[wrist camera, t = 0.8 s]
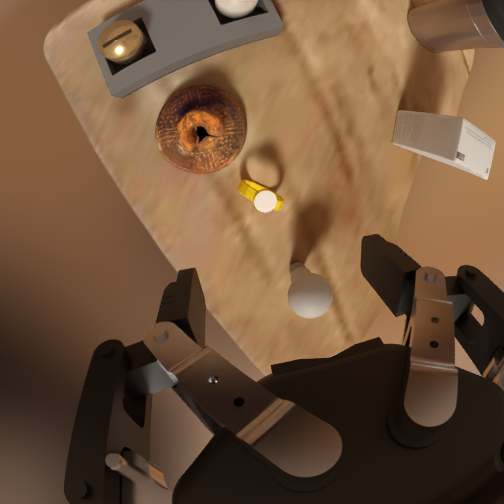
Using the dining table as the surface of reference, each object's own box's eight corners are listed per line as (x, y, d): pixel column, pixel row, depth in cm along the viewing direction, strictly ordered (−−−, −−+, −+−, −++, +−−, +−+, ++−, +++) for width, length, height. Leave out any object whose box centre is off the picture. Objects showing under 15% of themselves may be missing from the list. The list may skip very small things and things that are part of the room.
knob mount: (247, -22, 22) (250, -35, 18) (277, 35, 27) (284, 26, 23) (98, 39, 23) (87, 32, 20) (122, 98, 29) (111, 96, 25)
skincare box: (431, 125, 34) (498, 140, 21) (425, 158, 37) (490, 182, 24) (394, 108, 33) (465, 114, 20) (388, 144, 35) (456, 163, 22)
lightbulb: (292, 242, 41) (314, 282, 31) (321, 259, 43) (348, 300, 33) (269, 273, 43) (284, 318, 33) (299, 288, 45) (319, 332, 35)
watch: (280, 188, 37) (293, 201, 32) (271, 205, 38) (283, 221, 33) (241, 171, 35) (249, 181, 30) (232, 189, 36) (238, 202, 31)
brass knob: (140, 23, 21) (130, 12, 18) (152, 51, 24) (144, 42, 20) (104, 42, 22) (91, 35, 18) (116, 71, 24) (103, 65, 20)
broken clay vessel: (236, 78, 30) (240, 67, 23) (253, 163, 35) (261, 172, 29) (148, 99, 29) (132, 94, 23) (168, 182, 35) (157, 196, 29)
